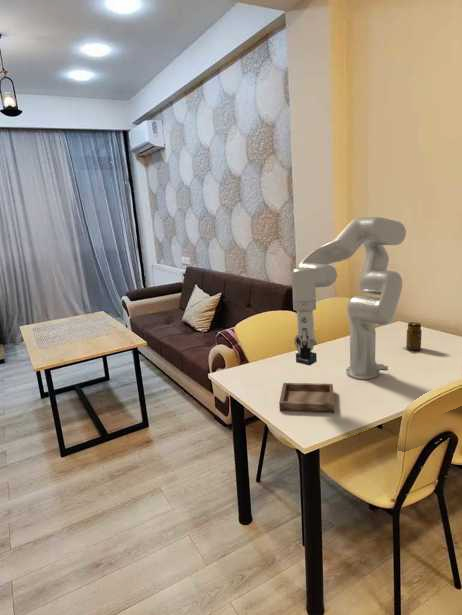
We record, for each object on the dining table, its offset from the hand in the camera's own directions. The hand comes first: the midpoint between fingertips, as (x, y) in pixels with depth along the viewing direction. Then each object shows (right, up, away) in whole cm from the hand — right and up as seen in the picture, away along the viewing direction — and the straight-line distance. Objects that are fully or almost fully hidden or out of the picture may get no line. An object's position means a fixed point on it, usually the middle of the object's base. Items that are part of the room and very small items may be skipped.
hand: (305, 353), depth 140 cm
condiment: (+57, -3, +44) cm, 72 cm away
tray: (+1, -17, +4) cm, 18 cm away
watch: (0, -3, +1) cm, 3 cm away
